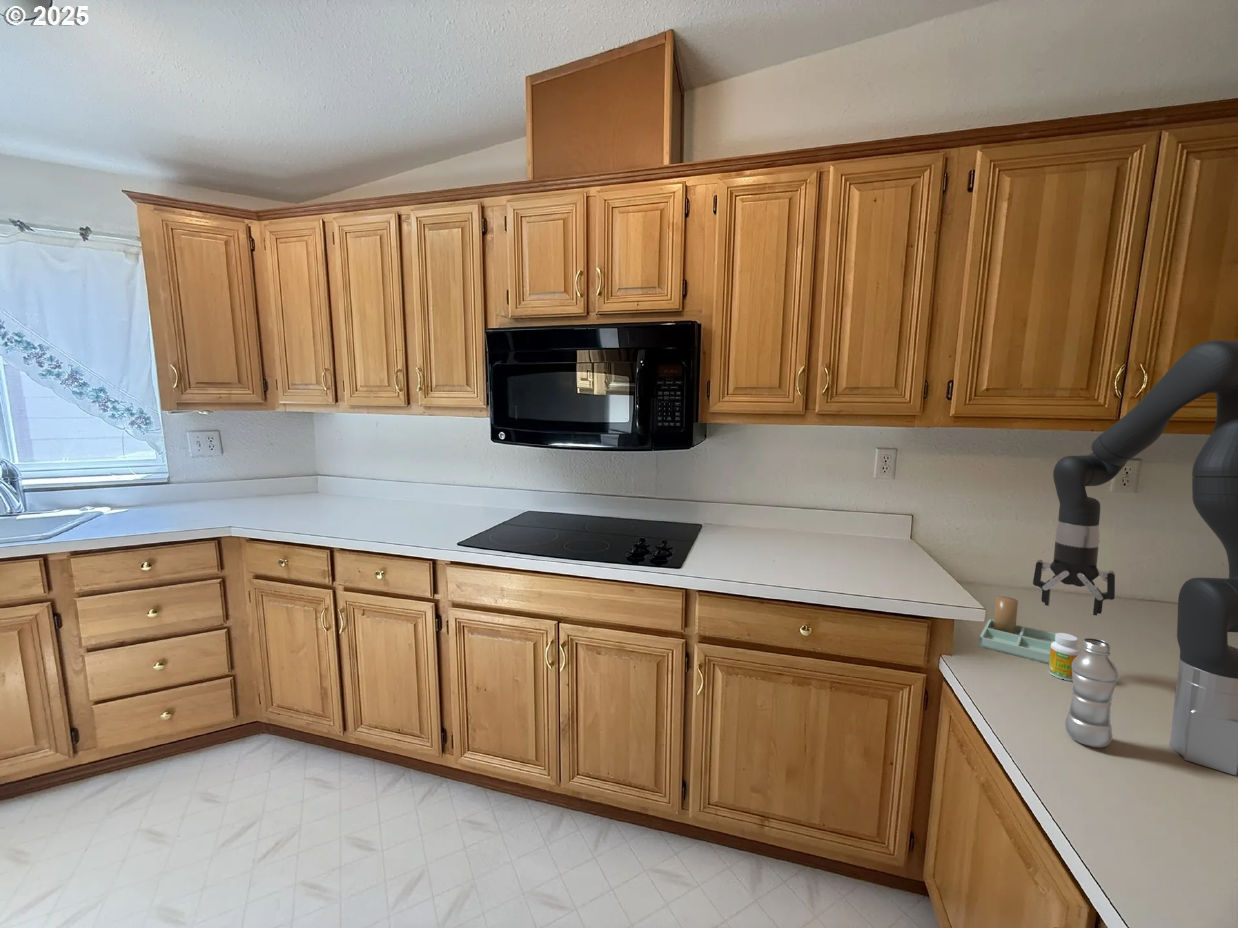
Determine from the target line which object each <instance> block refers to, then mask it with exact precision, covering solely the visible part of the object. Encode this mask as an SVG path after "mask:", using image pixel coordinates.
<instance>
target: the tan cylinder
mask: <svg viewBox="0 0 1238 928" xmlns="http://www.w3.org/2000/svg"><path fill="white" fill-rule="evenodd" d="M1018 602H1019V601H1018V599H1016V598H1013V597H1010V596H1002V595H1001V596H1000V595H999V596H996V597H995V608H994V620H995V621H994V630H999V631H1003V632H1007V633H1012V634H1015V633H1016V625H1017V618H1018V606H1019V605H1018V604H1019V603H1018Z"/></svg>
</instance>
